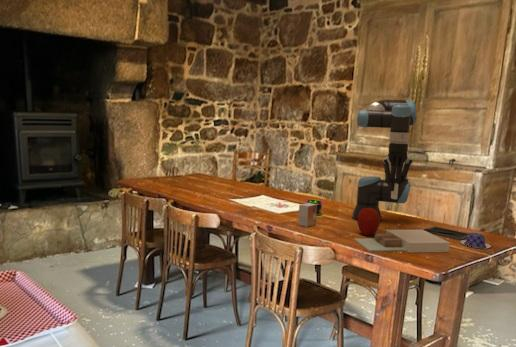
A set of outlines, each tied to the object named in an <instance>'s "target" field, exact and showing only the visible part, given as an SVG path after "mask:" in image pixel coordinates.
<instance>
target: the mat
mask: <svg viewBox="0 0 516 347" xmlns="http://www.w3.org/2000/svg"><path fill="white" fill-rule="evenodd" d="M374 239H375V237H374V238H373V237H372V238H370V237H367V238H366V237H365V238H354V239H353V241H354V242H356V243H358V244H359V245H360V246H362V247H363V248H364V249H365V250H367V251H368V252H407V251H406V249H404V248H403V247H384V246H382V245H381V244H379V243H378V242H376V241H375V240H374Z"/></svg>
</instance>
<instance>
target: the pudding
mask: <svg viewBox="0 0 516 347" xmlns="http://www.w3.org/2000/svg"><path fill="white" fill-rule="evenodd" d="M468 233H469V234H468V237H467V239H465V240H462V241H460V242H459V243H460V244H462V245H464V246H466V247H471V246H472V247H471V248H475V249H489V248H491V247H492V246H491V245H490V244H489V243H486V241H485V239H486V238H485V235H484V234H482V233H478V232H468ZM464 242H465V244H466V245H465V244H464ZM467 245H468V246H467ZM484 247H486V248H484Z"/></svg>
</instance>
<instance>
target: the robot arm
mask: <svg viewBox="0 0 516 347" xmlns="http://www.w3.org/2000/svg"><path fill="white" fill-rule="evenodd" d="M416 106H417V105H416V102H415V101H414V100H410V99H409V100H408V99H381V100H377V101H374V102H371V103H370V104H369V105H368V106H367V107H366V109H362V110H361V109H360V110H358V112H357V116H356V117H357V118H356V123H357V126H358V127H360V128H380V129H381V128H382V129H390V130H389V142H390V143H389V144H388V154H387V157H385V158H381V162H382V164H383V169H384V170H383V171H384V175H385V177H384V179H382V177H381V176H375V175H374V176H363V177H360V178H359V179H358V181H357V192H356V205H355V207H354V209H353V212H352V216H351V217H352V219H353V220H355V221H358V214H359V212H360V211H361V210H362V209H364V208H369V206H370V208H373V209H375V210H376V211H377V212H378V214H379V217H380V222H382V221H381V220H382V215H381V210H380V206H379V204H380V202H384V203H393V204H406V202H408V199H409V196H410V195H409V194H410V190H411V184H412V183H411V181H409V178H408V173H409V170H410V166H411V165H412V163H413V160H412V159H410V158H409V156H408V150H409V139H410V129H411V128H413V126H414V124H416V123H417V107H416Z"/></svg>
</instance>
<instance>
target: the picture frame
mask: <svg viewBox="0 0 516 347" xmlns="http://www.w3.org/2000/svg"><path fill="white" fill-rule="evenodd" d="M422 230H425V231H427V232H429V233H431V234H433V235H435V236H437V237H441V238H442V237H443V238H447V239H451V240H456V241H462V240H466V239H467V237H468V234H469V233H470V232H464V231H459V230H455V229H450V228H446V227H440V226H435V225H434V226H431V227H429V228H427V227H426V228H423V229H422Z"/></svg>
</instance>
